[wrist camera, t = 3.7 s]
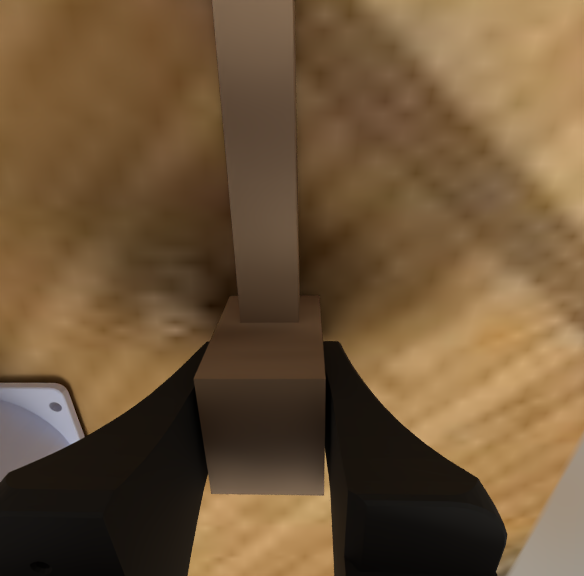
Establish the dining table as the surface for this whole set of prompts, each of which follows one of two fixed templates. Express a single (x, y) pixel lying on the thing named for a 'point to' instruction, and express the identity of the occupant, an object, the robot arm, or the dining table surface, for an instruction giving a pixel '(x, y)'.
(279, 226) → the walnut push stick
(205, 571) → the dining table surface
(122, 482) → the robot arm
